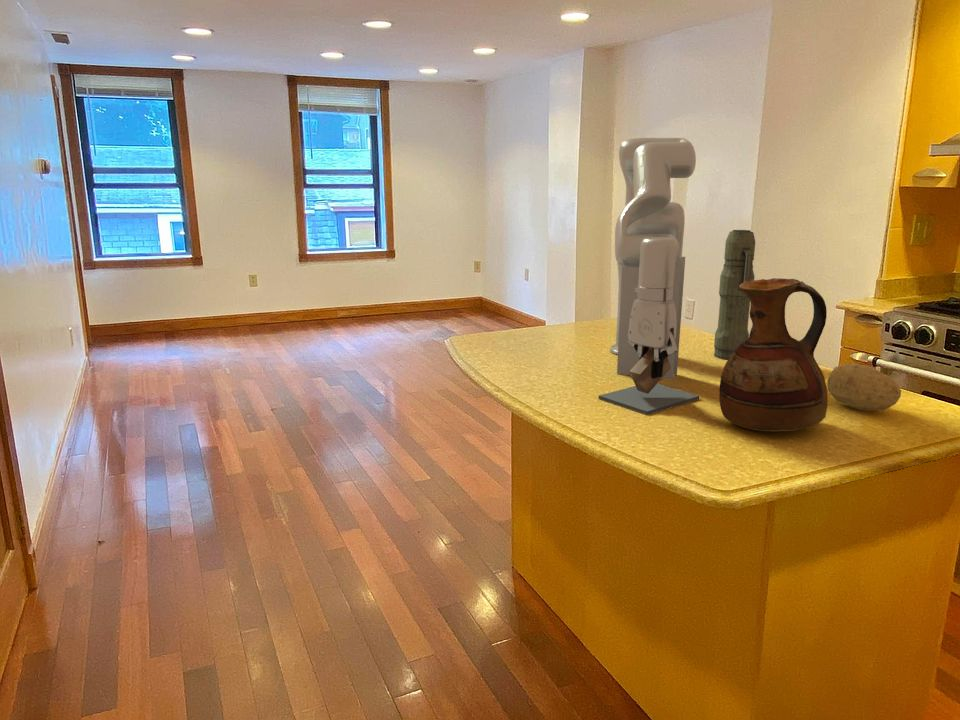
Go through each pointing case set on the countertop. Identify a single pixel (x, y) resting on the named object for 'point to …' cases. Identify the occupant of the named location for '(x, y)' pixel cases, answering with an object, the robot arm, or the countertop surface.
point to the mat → (649, 399)
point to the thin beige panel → (628, 295)
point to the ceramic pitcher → (775, 364)
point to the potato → (863, 387)
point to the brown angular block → (647, 372)
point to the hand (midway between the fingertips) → (650, 375)
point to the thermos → (734, 293)
